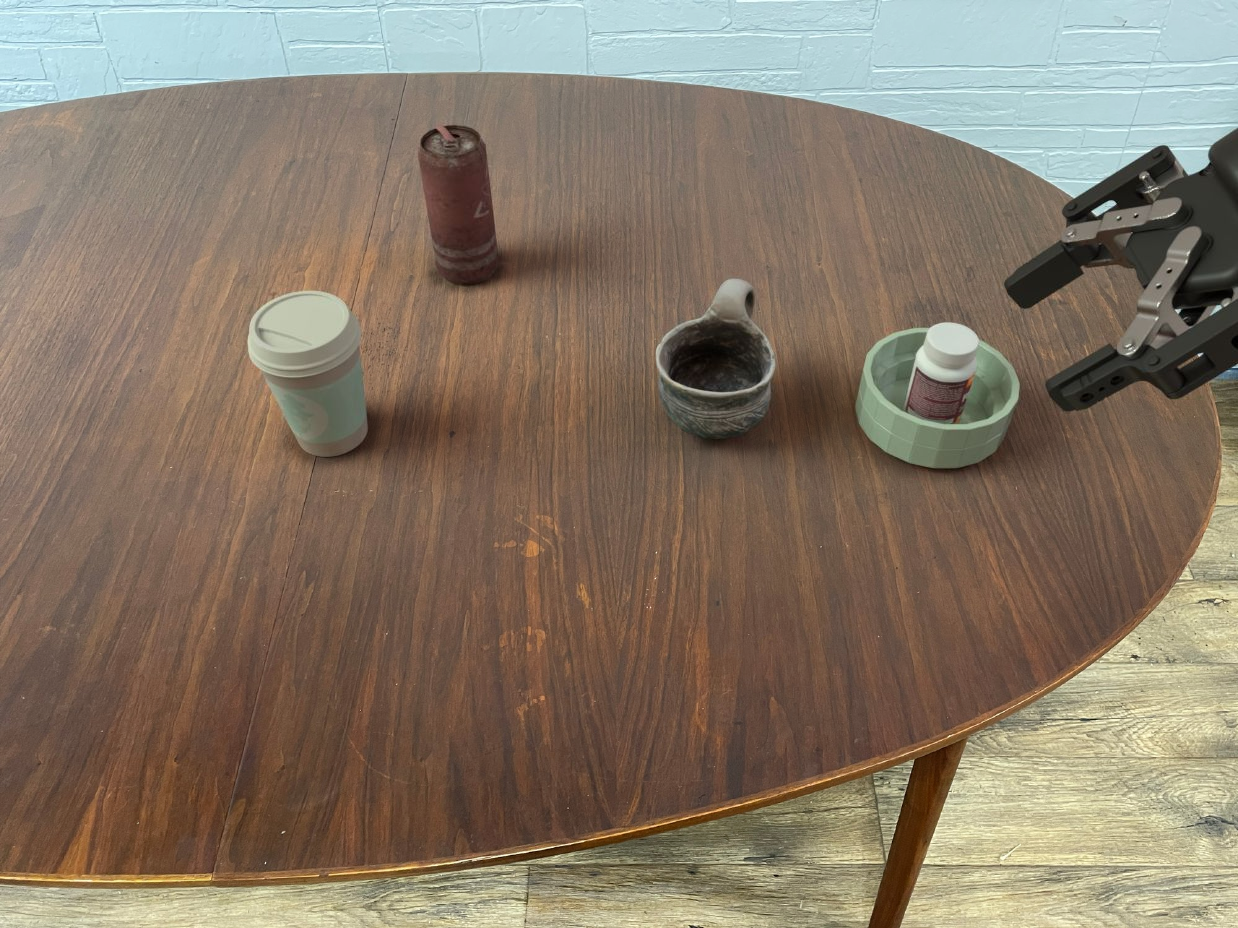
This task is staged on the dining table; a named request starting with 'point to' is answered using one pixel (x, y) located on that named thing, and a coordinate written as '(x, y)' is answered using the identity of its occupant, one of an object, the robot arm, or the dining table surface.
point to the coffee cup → (313, 368)
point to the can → (459, 203)
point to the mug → (717, 367)
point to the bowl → (927, 439)
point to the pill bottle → (942, 374)
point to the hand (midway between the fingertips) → (1032, 345)
